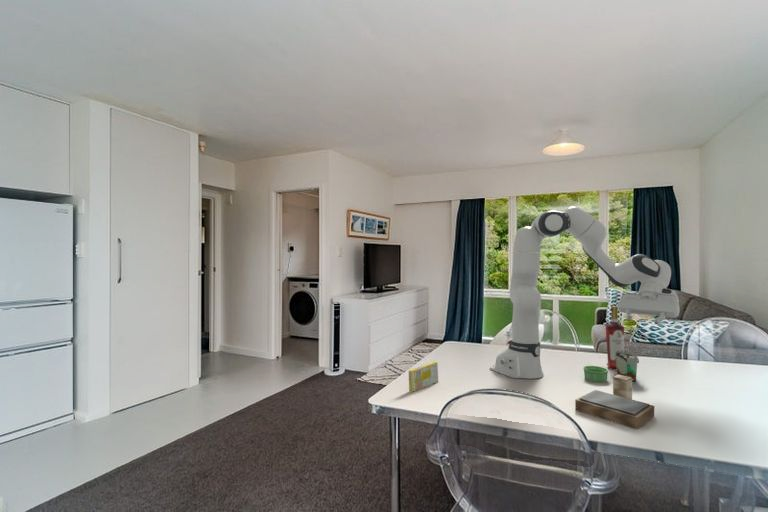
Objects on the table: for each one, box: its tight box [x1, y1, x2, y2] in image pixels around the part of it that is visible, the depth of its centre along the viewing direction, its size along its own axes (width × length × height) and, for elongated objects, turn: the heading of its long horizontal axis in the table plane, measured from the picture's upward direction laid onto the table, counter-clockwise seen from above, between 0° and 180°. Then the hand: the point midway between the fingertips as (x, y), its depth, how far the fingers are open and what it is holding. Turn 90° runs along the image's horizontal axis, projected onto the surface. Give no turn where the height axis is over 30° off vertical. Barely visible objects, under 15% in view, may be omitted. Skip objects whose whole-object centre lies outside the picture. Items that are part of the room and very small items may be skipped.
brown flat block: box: [574, 389, 655, 430], centre depth 122 cm, size 18×14×4 cm
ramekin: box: [582, 365, 609, 383], centre depth 156 cm, size 9×9×4 cm
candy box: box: [408, 361, 439, 393], centre depth 150 cm, size 16×2×8 cm, turn 134°
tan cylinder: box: [612, 374, 633, 400], centre depth 134 cm, size 4×4×8 cm
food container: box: [615, 351, 640, 383], centre depth 155 cm, size 12×6×10 cm, turn 168°
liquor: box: [605, 305, 626, 370], centre depth 170 cm, size 7×7×28 cm
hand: (642, 321), depth 145 cm, fingers open, 8 cm apart
